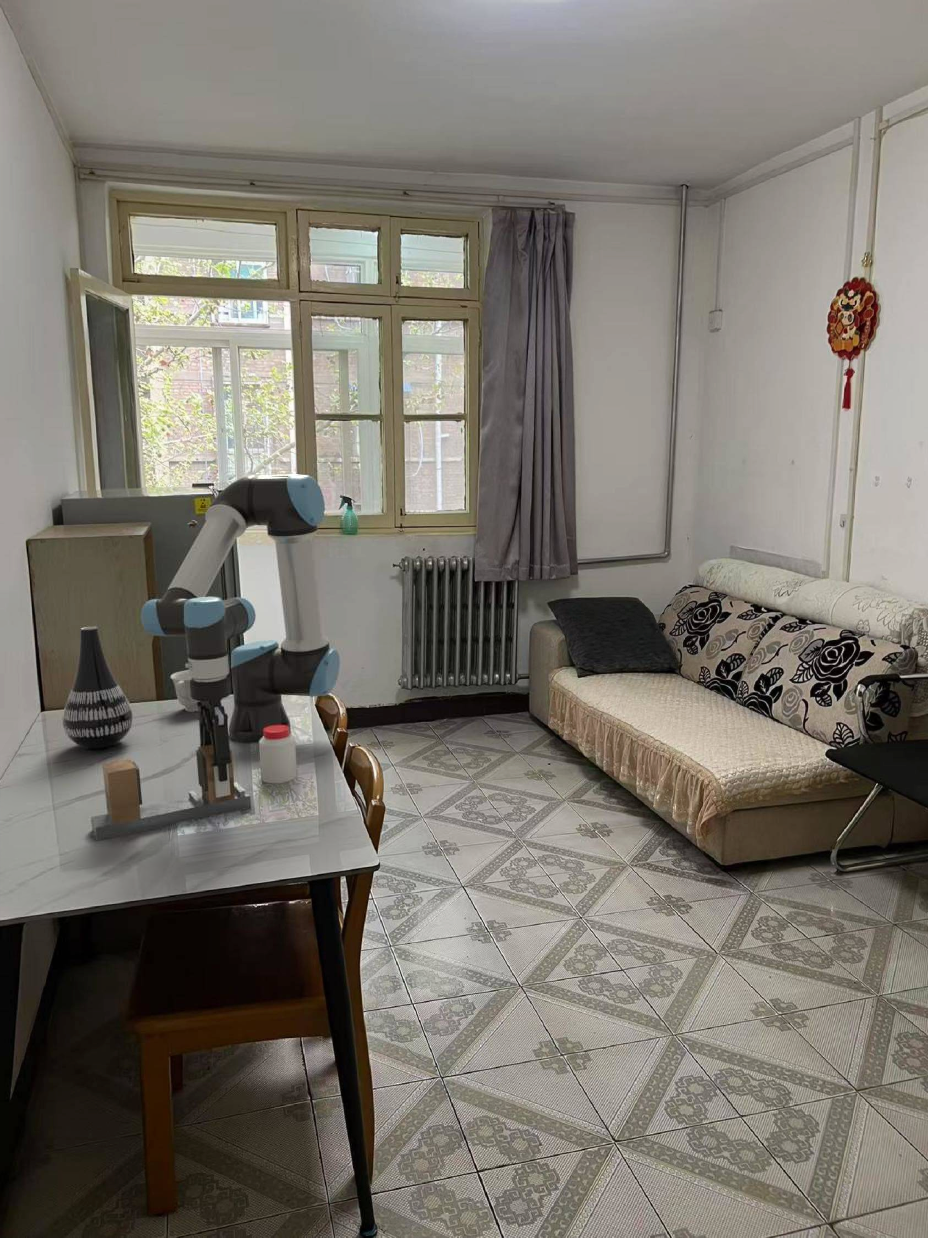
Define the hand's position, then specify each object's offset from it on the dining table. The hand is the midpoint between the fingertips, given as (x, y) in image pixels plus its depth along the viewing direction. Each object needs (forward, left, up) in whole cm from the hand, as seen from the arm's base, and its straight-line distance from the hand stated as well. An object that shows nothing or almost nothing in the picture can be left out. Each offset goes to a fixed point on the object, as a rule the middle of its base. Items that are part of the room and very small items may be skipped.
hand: (218, 789), depth 183 cm
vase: (+14, -57, -4) cm, 59 cm away
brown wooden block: (0, 0, -1) cm, 1 cm away
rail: (+9, 0, -4) cm, 10 cm away
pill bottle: (-16, -11, -4) cm, 20 cm away
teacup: (-13, -76, -4) cm, 77 cm away
